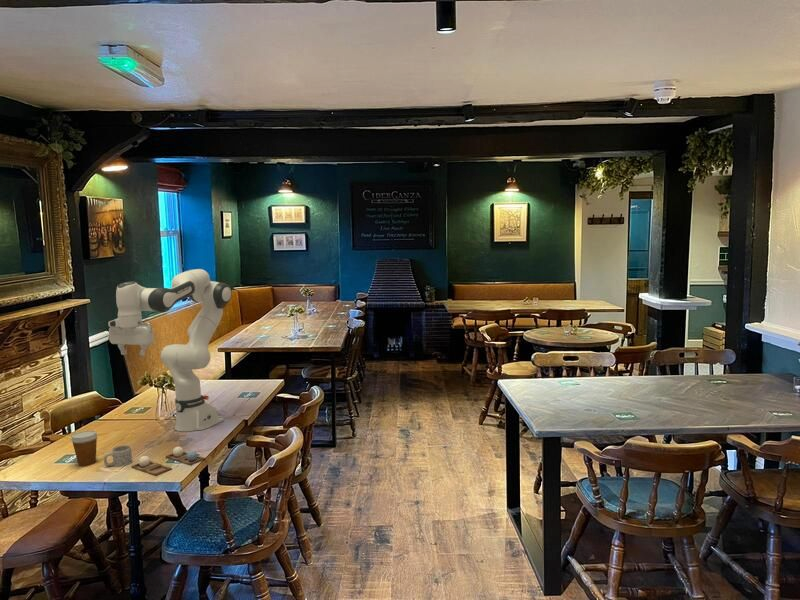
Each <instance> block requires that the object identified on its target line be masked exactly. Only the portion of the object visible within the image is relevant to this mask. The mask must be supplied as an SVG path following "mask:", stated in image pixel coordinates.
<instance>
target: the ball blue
mask: <svg viewBox="0 0 800 600" xmlns="http://www.w3.org/2000/svg"><path fill="white" fill-rule="evenodd" d="M187 453H188V454H187V459H188V460H189V461H194V460H196V459H197V456H198V453H197V451H196V450H189V452H187Z"/></svg>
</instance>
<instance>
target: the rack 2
mask: <svg viewBox="0 0 800 600" xmlns="http://www.w3.org/2000/svg"><path fill="white" fill-rule="evenodd" d="M187 454H188V452H187V451H184V450H183V454H182V455H181V456H180V457H176V456H174V455H173V453H170V454H169V455H168V454H167V455H165V459H168V460H171V461H174V462H177V463H180V464H184V465H187V466H193V465H196V464H198V463H201V462H203V461H205V460H206V457H203V456H201V455H197V459H196V460H194V461H189V460H188V459H187Z"/></svg>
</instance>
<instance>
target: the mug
mask: <svg viewBox="0 0 800 600" xmlns="http://www.w3.org/2000/svg"><path fill="white" fill-rule="evenodd" d="M110 456H111V457H112V458H113V459H112V462H110V463H109V462H108V460H107V459H108V457H110ZM103 462H104V463H103V464H104V466H105V467H113V466H114V467H124V466H127V465H130V464H132V463H133V457H132V447H131V446H130V445H119V446H115V447H114V448H112V450H111V452H109V453H106V454H105V455H104V456H103Z"/></svg>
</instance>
